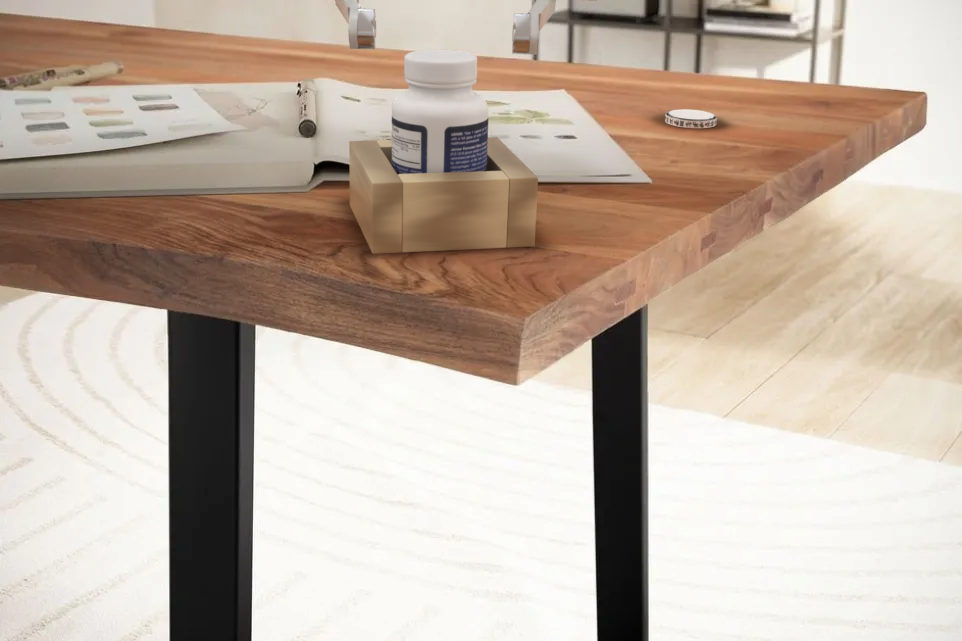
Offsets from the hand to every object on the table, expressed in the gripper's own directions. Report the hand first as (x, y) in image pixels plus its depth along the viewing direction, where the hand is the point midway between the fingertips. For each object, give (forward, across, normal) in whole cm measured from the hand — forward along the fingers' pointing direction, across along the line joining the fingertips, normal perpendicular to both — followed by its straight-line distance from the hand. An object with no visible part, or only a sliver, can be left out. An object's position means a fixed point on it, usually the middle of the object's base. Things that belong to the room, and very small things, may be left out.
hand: (443, 46), depth 71 cm
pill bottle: (+10, 0, +4) cm, 11 cm away
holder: (+10, 0, +4) cm, 10 cm away
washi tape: (-10, +19, +24) cm, 32 cm away
